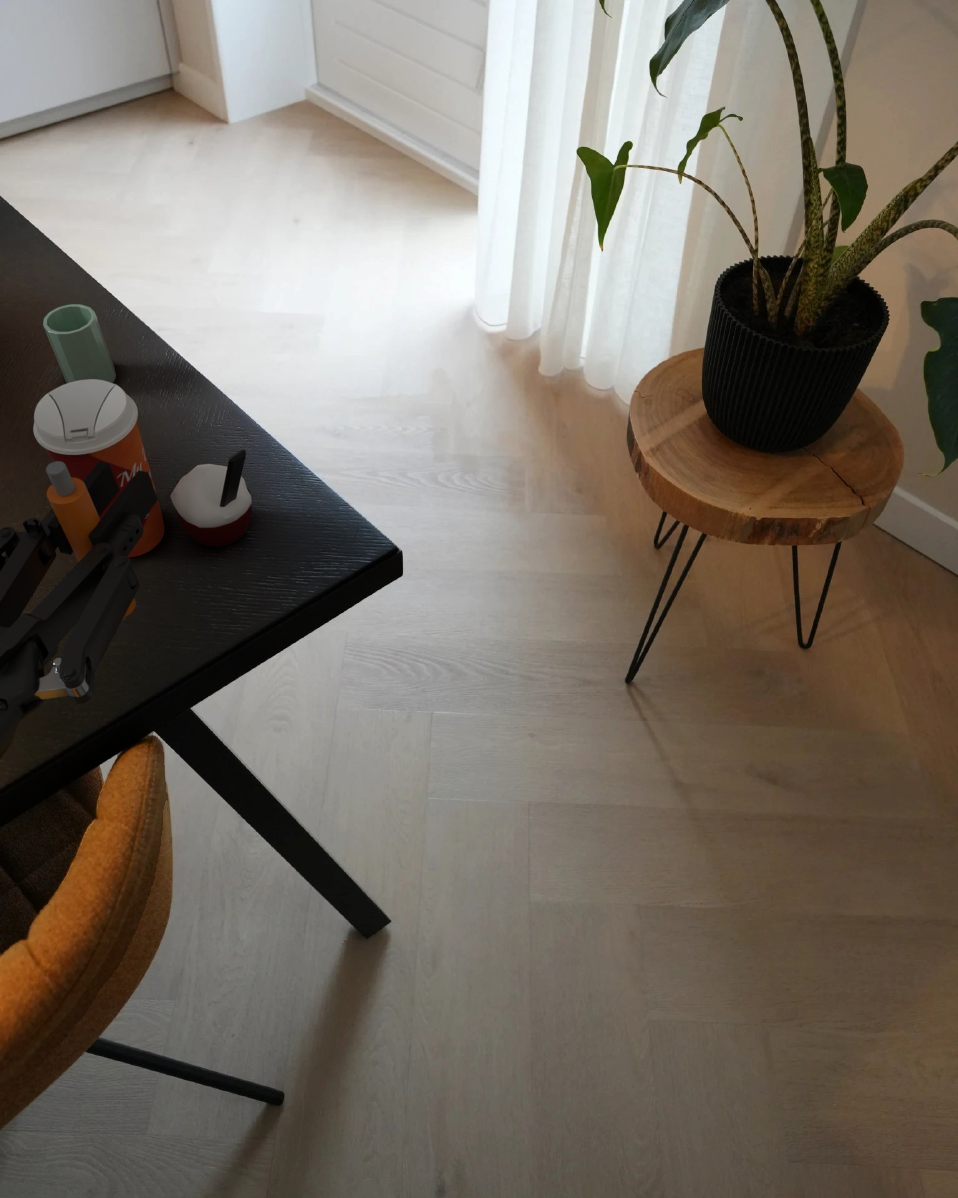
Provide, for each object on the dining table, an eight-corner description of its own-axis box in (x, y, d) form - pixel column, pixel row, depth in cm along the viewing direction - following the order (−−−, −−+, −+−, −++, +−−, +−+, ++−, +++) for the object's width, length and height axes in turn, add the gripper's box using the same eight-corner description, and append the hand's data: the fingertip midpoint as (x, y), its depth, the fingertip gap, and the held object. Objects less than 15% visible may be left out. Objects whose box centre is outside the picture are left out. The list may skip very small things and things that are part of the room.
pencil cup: (58, 390, 95) (33, 330, 90) (81, 360, 98) (58, 301, 93) (102, 397, 95) (80, 337, 89) (124, 367, 98) (103, 307, 92)
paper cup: (178, 559, 81) (132, 432, 71) (84, 574, 80) (23, 447, 69) (176, 495, 86) (133, 367, 75) (87, 508, 85) (31, 380, 74)
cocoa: (172, 511, 85) (135, 404, 76) (240, 488, 87) (212, 380, 77) (206, 584, 80) (170, 479, 70) (277, 558, 82) (252, 452, 72)
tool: (96, 616, 71) (28, 477, 60) (111, 591, 72) (47, 451, 61) (127, 621, 70) (64, 483, 59) (141, 596, 72) (82, 457, 61)
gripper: (-166, 757, 59) (51, 494, 73) (57, 828, 56) (238, 540, 70) (-237, 689, 53) (14, 417, 67) (8, 764, 50) (216, 464, 64)
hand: (128, 480), depth 68 cm, fingers closed on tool, 2 cm apart
